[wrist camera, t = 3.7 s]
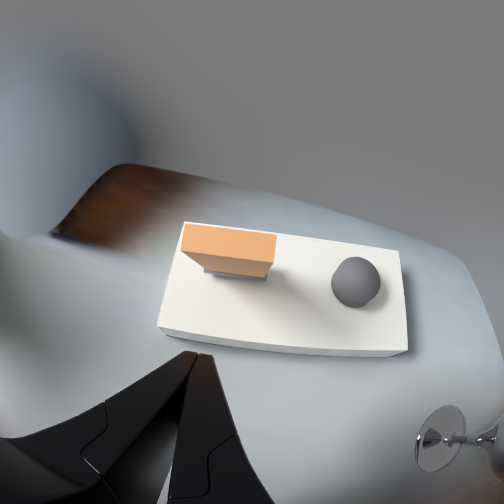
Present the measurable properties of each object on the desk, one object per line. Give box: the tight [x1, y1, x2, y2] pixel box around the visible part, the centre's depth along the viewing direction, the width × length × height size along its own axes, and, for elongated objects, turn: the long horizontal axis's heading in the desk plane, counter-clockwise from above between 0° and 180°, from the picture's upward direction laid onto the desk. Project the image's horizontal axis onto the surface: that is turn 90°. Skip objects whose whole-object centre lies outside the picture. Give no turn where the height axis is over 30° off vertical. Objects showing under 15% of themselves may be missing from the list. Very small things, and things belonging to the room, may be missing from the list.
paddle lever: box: [180, 224, 277, 281], centre depth 16 cm, size 2×4×9 cm, turn 82°
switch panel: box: [157, 222, 408, 357], centre depth 21 cm, size 9×19×3 cm, turn 83°
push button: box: [331, 257, 381, 308], centre depth 19 cm, size 4×4×1 cm
